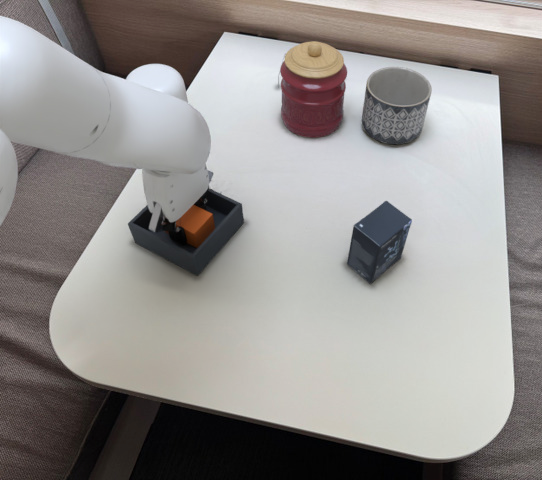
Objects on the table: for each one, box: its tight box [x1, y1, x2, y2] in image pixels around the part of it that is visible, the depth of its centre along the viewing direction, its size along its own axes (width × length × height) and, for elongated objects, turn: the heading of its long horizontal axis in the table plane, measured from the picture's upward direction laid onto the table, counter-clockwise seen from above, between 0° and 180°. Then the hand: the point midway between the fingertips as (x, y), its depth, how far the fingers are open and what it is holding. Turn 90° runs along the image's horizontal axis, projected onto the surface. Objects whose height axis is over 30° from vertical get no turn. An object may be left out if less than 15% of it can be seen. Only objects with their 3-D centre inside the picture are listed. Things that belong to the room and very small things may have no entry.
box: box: [346, 200, 413, 284], centre depth 84 cm, size 8×6×11 cm
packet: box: [165, 205, 215, 248], centre depth 88 cm, size 5×7×4 cm
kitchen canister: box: [279, 40, 348, 139], centre depth 103 cm, size 13×13×18 cm
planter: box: [361, 66, 433, 145], centre depth 105 cm, size 13×13×10 cm
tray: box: [127, 187, 245, 277], centre depth 88 cm, size 13×13×5 cm
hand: (189, 227), depth 89 cm, fingers closed on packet, 5 cm apart
